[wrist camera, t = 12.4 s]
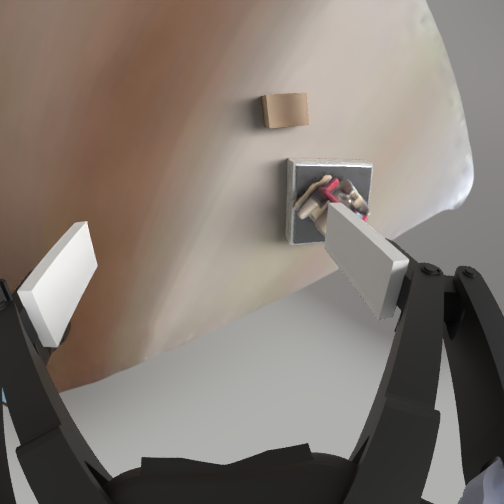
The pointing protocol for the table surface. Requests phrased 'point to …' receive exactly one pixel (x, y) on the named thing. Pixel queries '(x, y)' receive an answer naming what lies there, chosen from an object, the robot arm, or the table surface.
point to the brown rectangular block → (285, 110)
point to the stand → (310, 172)
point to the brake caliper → (330, 201)
